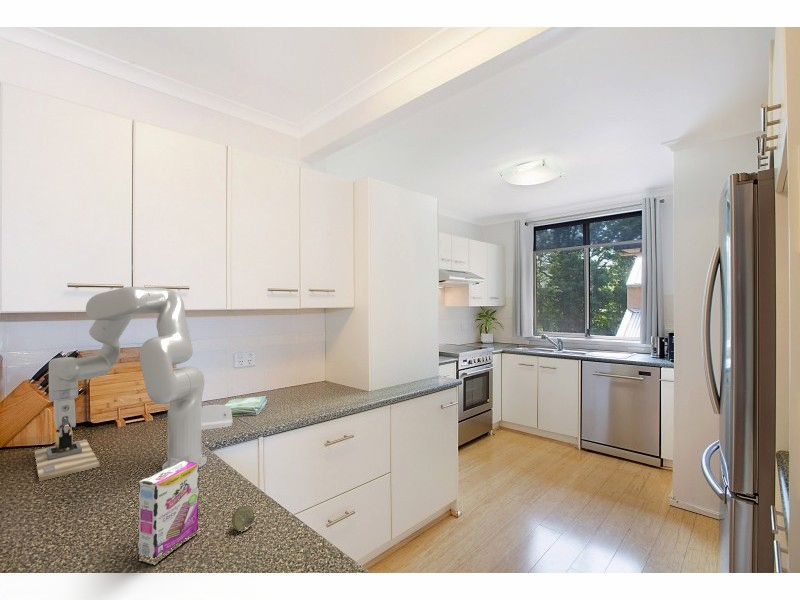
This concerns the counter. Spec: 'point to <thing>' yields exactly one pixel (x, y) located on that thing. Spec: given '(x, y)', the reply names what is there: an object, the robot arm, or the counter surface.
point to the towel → (247, 405)
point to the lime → (242, 518)
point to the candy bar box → (168, 508)
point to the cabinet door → (64, 460)
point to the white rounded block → (215, 416)
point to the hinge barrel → (58, 442)
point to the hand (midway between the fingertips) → (64, 444)
